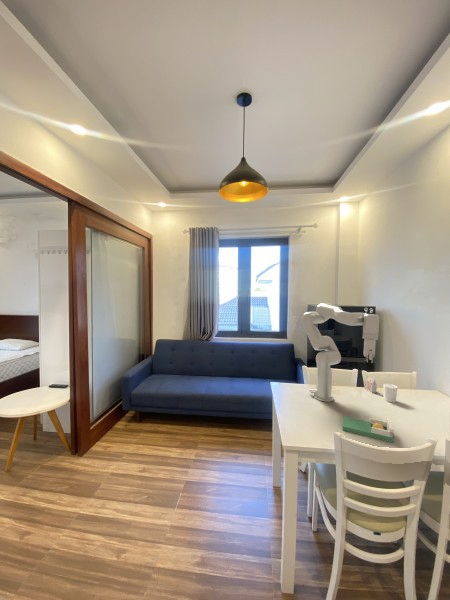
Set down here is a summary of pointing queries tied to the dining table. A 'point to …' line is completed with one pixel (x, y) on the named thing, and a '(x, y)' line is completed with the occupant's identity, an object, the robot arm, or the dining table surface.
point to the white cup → (390, 392)
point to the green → (369, 428)
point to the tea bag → (371, 384)
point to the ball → (377, 426)
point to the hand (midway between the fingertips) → (368, 368)
